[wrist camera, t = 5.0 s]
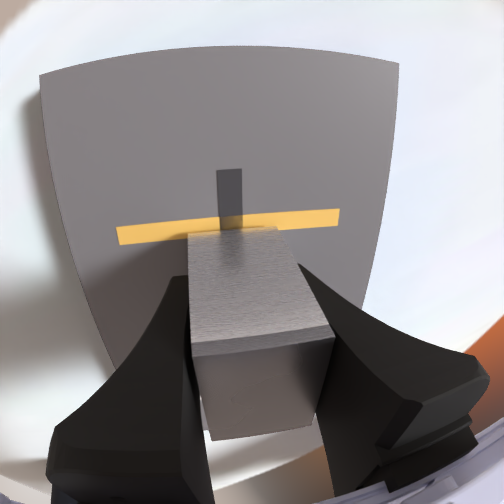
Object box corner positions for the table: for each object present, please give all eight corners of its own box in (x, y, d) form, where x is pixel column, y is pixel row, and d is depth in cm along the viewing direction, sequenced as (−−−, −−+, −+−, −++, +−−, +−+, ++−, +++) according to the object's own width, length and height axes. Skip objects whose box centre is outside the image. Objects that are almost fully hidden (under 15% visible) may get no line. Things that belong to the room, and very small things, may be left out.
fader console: (321, 386, 21) (330, 409, 19) (149, 408, 19) (149, 433, 17) (371, 62, 11) (399, 63, 9) (61, 74, 9) (39, 75, 7)
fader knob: (272, 314, 13) (310, 424, 9) (199, 322, 13) (211, 441, 8) (276, 225, 11) (335, 336, 7) (187, 233, 11) (192, 356, 6)
